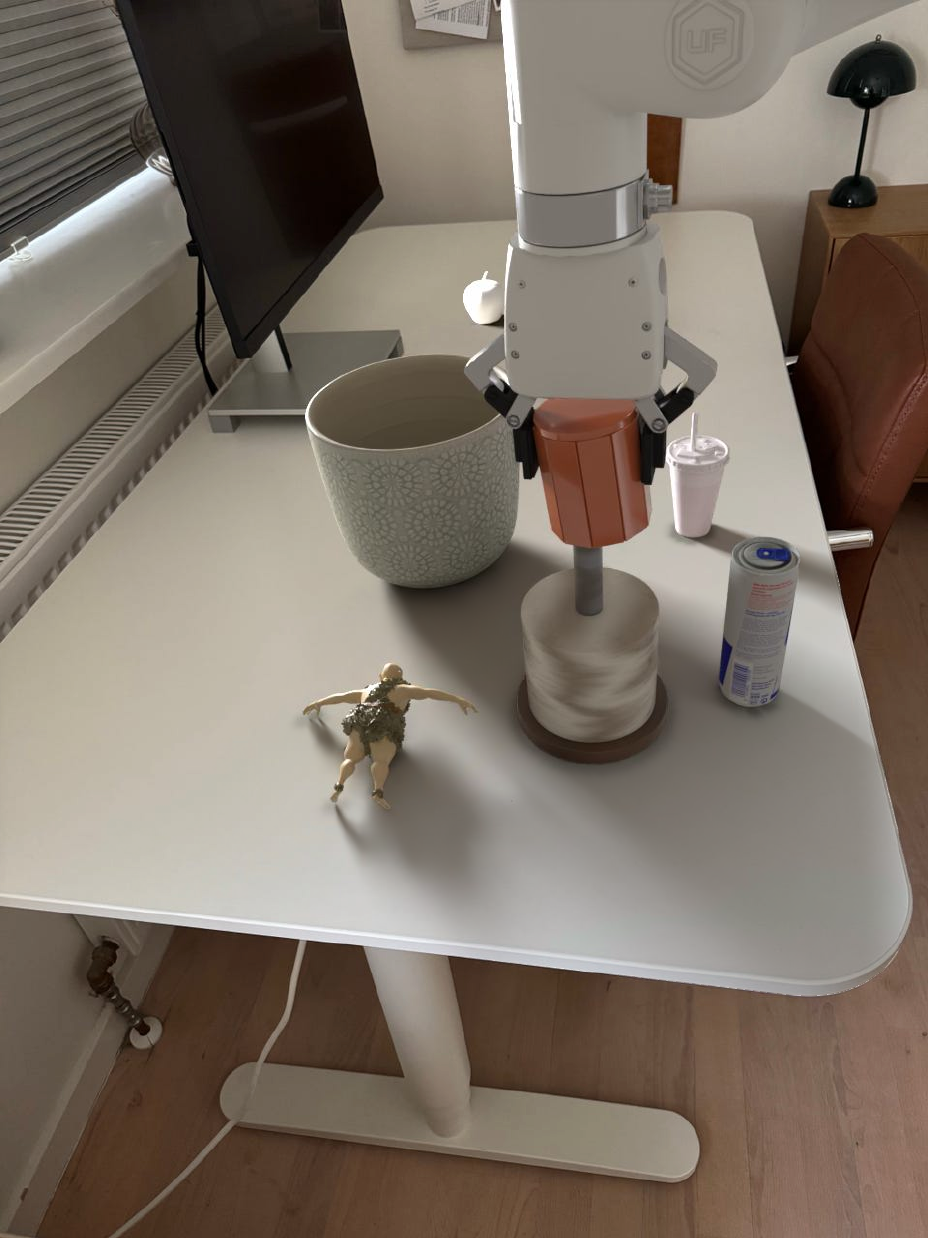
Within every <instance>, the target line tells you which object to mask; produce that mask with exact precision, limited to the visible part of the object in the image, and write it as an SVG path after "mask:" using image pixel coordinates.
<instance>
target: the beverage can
mask: <svg viewBox="0 0 928 1238" xmlns="http://www.w3.org/2000/svg"><path fill="white" fill-rule="evenodd" d="M800 562H801V555H800V552H799V550H798V549H797V548H796V547H795V546H794V545H793V544H791V543H790V542H788V541H786V540H783V539H781V538H777V537H772V536H753V537H749V538H745V539H743V540H741V541H740V542H738V543H737V544H736V545H734V547H733V548H732V551H731V558H730V563H729V574H728V582H727V593H726V602H725V603H726V604H725V612H724V622H723V632H722V642H721V651H720V661H719V662H720V663H719V671H718V688H719V690H720V692H721V693H722V695H723V696H724V697H725V698H726V699H728V700H729V701H730V702H732V703H734V704H736V705H738V706H741V707H746V708H756V707H761V706H765V705H767V704H770V703H771V702H772V701H773V700H775V699H776V697H777V696H778V694H779V691H780V688H781V682H782V676H783V670H784V665H785V657H786V652H787V645H788V639H789V633H790V629H791V628H790V627H791V620H792V617H793V616H792V615H793V608H794V603H795V597H796V591H797V586H798V585H797V584H798V578H799V573H800Z"/></svg>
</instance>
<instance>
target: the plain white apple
mask: <svg viewBox="0 0 928 1238" xmlns="http://www.w3.org/2000/svg"><path fill="white" fill-rule="evenodd" d="M488 273H489V271H488V270H487V271H485V272H484V275H483V277H482V279H481V280H475V281H473V282H471V284H469V285H468V286H467V287H466V288H465V290H464V293H463V304H464V307H465V310H466V311H467V312H468V314H469V316H470V317H471V319H472V320H473V321H474V322H475V323H477V324H480V325H489V324H493V323H496V322H498V321H499V320H500V318H501V317H502V314H503V311H504V310H505V287H504V286H503V284H501V283H500V282H499V281H496V280H491V279H487V275H488Z"/></svg>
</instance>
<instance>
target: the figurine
mask: <svg viewBox="0 0 928 1238" xmlns="http://www.w3.org/2000/svg"><path fill="white" fill-rule="evenodd" d="M381 671H382V672H379V673H378V677H379V680H380V682H378V683H375V684H373V683H372V684H370V685H369V684H368V685H367V686H365V687H364V688H362V689H355V690H354V689H353V690H350V691H347V692H340V693H339V692H338V693H334V694H332V695H329V696H327V697H324V698H322V699H319V700H318V699H316V700H315V701H314V702H312V703H310V704H308V705H306V706H305V707H304V708H303V710H302V711H301V712H302V715H303V716H305V715H307V716H308V715H309V714H311V712H312V711H313V710H315V711H316V716H319V715H320V712H321V708H322V707H324V706H329V705H340V704H342V703H345V704H348V705H349V704H350V705H352V704H353V705H356V707H355V708H351V709H350V710H349V713H350V714H347V715H346V716H345V717H344V718H342V720H341V721H342V722H341V723H340V724H341V725H342V726H343V727H342V728H343V729H342V733H343V734H345V735H346V736H348V738H349V739H348V743H347V745H346V747H345V750H344V752H343V757H344V761H343V762H342V763H341V764H340V768H339V776H338V777H339V778H338V781H337V782H335V783H334V786H333V789H334V791H333V793H332V795H331V796H330V798H329V800H330V801H331V802H332V803H337V802H338V799H339V796H340V794H341V793H342V792H343V791H344V788H345V785H344V784H345V782H347V780H348V779H349V778H350V777H351V776H352V775H353V774H354V772H355V770H356V764H359V763H361V762H363V761H364V760H365V759H366V758H367V757H369V758H370V759H371V760H372V761H373V762H372V764H371V766H370V773H371V776H372V779H373V781H374V790H372V791H371V793H370V795H371V798H372V801H374V802H375V803H378V804H379V805H380V806H382V808H384V809H386V810H390V809H391V806H390V804H388V803H387V801H386V800H385V799H384V795H385V794H384V790H383V788H384V784H385V781H386V779H387V777H388V775H389V765H390V764H391V762H392V760H393V758H394V757H395V755H396V754H397V753H398V752H399V749H400V748H403V742H404V741H405V732H406V730H405V728H406V727H407V722H406V716H405V715H406V714H407V713H408V712H409V710H410V707H411V701H412V700H414V701H415V700H416V701H423V700H427V699H430V700H435V701H441V702H449V703H453V704H457V705H459V706H460V708H461V709H462V711H463V714H464V715H465V716H466V715H468V711H467V708H469V709H471V710H472V711H473V712H474V713H475V714H478V713H479V712H478V710H477V709H476V707H475V706H474V705H473V703H472V702H470V701H468V700H466V699H465V698H463V697H460V696H458V695H455V694H451V693H448V692H446V691H444V690H441V689H438V688H425V687H423V686H420V685H416V684H415V685H414V684H412V683H411V682H408V681H407V680H406V679H404V678H403V676H404V675H403V674H404V671H403V669H402V667H400V665H398V664H396V663H393V662H391V663H387V664H385V665H384V667H383V668H382V669H381Z"/></svg>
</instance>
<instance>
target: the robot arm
mask: <svg viewBox="0 0 928 1238" xmlns="http://www.w3.org/2000/svg"><path fill="white" fill-rule="evenodd" d="M919 1H920V0H500V7H501V8H500V11H501V12H500V14H501V15H500V16H501V27H502V28H501V29H502V40H503V52H504V65H505V74H506V75H505V76H506V77H505V78H506V79H505V80H506V89H507V90H506V91H507V102H508V103H507V104H508V115H509V116H508V117H509V128H510V141H511V150H512V151H511V154H512V167H513V179H514V180H513V181H514V196H515V207H516V222H517V230H515V231H514V232H513V233H512V235H511V237H510V239H509V242H508V247H507V248H508V249H507V257H506V269H505V281H504V283H505V284H504V286H505V287H504V289H505V306H504V317H503V319H504V322H503V323H504V329H503V330H504V331H503V332H502V333H501V334H500V335H499V336H497V337H496V338H495V339H493V340H492V341H491V342H490V343H488V344H487V345H486V346H485V347H483V348H482V349H481V350H479V351H478V352H477V353H476V354H474V355H473V356H471V357H472V358H471V359H470V360H469V362H468V363H467V365H466V366H465V368H464V373H465V375H466V376H467V377H468V378H469V380H470V381H471V382H472V383H473V384H474V385H475V387H476V388H477V389H478V390H479V391H481V392H482V393H483V394H484V398H485V400H486V402H487V403H489V404H490V405H491V406H492V407H493V408H494V409H495V410H496V411H498V412H499V413H500V414H501V415H502V416H503V417H504V418H505V422H506V424H507V426H508V427H510V428H512V429H513V439H514V450H515V460H516V462H520V463H521V465H522V477H523V478H522V479H523V480H527V481H528V480H532V479H534V478H536V475H537V473H538V471H539V469H540V466H539V461H538V456H537V450H536V445H535V440H534V435H533V429H532V427H533V425H534V424H533V414H534V412H535V410H536V409H537V408H534V404H535V403H536V402H537V400H538V399H546V400H548V399H581V400H632V402H633V403H634V405H635V406H636V408H637V409H638V411H639V412H640V414H641V415H642V419H643V421H644V423H643V431H642V436H641V483H644V485H650V486H652V485H653V482H654V477H655V473H656V469H665V465H666V455H667V431H668V428H669V426H670V425H671V424H672V423H673V422H674V421H676V419H678V418H679V417H680V416H682V414H684V413H685V412H686V411H687V410H688V409H689V408H691V407H692V406H693V404H694V402H695V401H696V399H697V398H698V397H699V396H700V395H701V394H702V393H703V392H704V391H705V390H706V389H707V387H709V386H710V384H711V383H712V382H713V381H714V380H715V378H716V377H717V370H718V362H717V361H716V360H715V358H713V357H712V356H710V355H709V354H707V353H706V352H705V351H703V350H702V349H700V348H699V347H698V346H696V345H695V344H693V343H692V342H690V341H689V340H687V339H686V338H684V337H683V336H682V335H681V334H679V333H678V332H676V331H675V330H673V329H672V328H671V327H670V326H669V325H670V324H669V323H670V322H669V320H670V319H669V295H668V294H669V293H668V277H667V264H666V256H665V248H664V242H663V237H662V232H661V228H660V225H659V224H658V223H656V222H654V221H649V220H650V219H651V216H652V215H657V214H659V212H670V211H672V207H673V196H674V195H673V193H674V191H673V185H672V184H665V185H664V184H663V185H660V183H659V182H654V180H653V177H650V169H649V168H647V167H648V165H647V163H648V158H647V157H648V114H651V115H657V116H664V117H665V116H666V117H674V118H681V119H692V120H709V119H710V120H711V119H719V118H724V117H727V116H732V115H735V114H736V113H740V112H742V111H743V110H745V109H747V108H749V107H750V106H752V105H754V104H755V103H756V102H758V101H759V100H760V99H762V98H763V97H764V96H765V95H766V94H767V93H768V92H769V91H770V90H771V89H772V88H773V87H774V86H775V85H776V84H777V82H778V81H779V79H781V77H782V75H783V73H784V72H785V70H786V68H787V67H788V65H789V63H790V61H791V59H792V58H793V57H794V56H797V55H798V54H801V53H803V52H805V51H807V50H809V49H811V48H813V47H815V46H818V45H819V44H822V43H824V42H826V41H828V40H831V39H833V38H834V37H837V36H839V35H841V34H844V33H845V32H848V31H850V30H852V29H855V28H858V26H861V25H863V24H865V23H867V22H870V21H872V20H875V19H877V18H879V17H882V16H884V15H886V14H889V13H892V12H894V11H896V10H898V9H900V8H903V7H906V6H908V5H911V4H914V3H917V2H919ZM649 177H650V178H649ZM504 360H505V361H504ZM503 361H504V362H505V371H506V372H507V378H508V382H509V385H510V386H509V385H508V384H507V383H506V382H505V381H504V380H502V379H500V378H498V377H497V376H496V375H497V374H496V373H495V372H494V370H493V367H495V366H496V365H497V366H498V365H499V364H500V363H501V362H503ZM668 361H670V362H671V363H672V364H673V365H675V366H676V367H678V368H679V369H681V370H683V372H684V373H686V374H687V375H686V376H685V378H684V379H683V381H681V382H679V383H678V384H677V385H676V386H674V387H673V389H671V390H670V391H669V392H666V391H665V389H664V388H663V386H662V384H661V383H662V375H663V374H664V373H663V372H664V370H666V368H667V365H668Z"/></svg>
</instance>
